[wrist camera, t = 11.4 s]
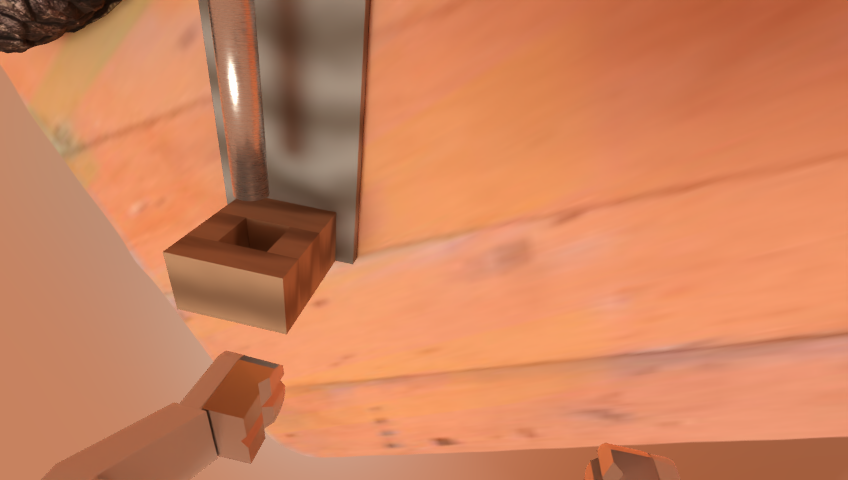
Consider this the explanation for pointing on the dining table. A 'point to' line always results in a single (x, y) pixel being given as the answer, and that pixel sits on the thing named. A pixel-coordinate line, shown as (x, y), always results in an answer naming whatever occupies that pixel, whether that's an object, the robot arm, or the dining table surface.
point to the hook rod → (240, 95)
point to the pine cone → (45, 20)
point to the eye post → (285, 170)
